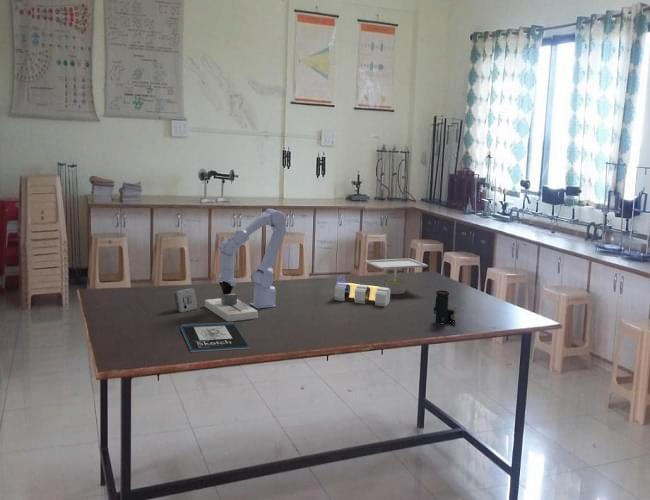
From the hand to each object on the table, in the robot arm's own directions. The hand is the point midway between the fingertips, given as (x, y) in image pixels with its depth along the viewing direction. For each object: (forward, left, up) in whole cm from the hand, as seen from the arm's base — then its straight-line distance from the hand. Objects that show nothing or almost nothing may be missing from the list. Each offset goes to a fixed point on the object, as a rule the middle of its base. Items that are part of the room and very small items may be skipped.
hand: (226, 298), depth 297 cm
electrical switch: (+17, -5, -5) cm, 19 cm away
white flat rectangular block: (0, +5, -5) cm, 7 cm away
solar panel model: (-93, 0, -5) cm, 93 cm away
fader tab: (0, +3, -2) cm, 3 cm away
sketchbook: (+20, +34, -6) cm, 40 cm away
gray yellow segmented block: (-66, +10, -6) cm, 67 cm away
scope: (-79, +53, -5) cm, 95 cm away
